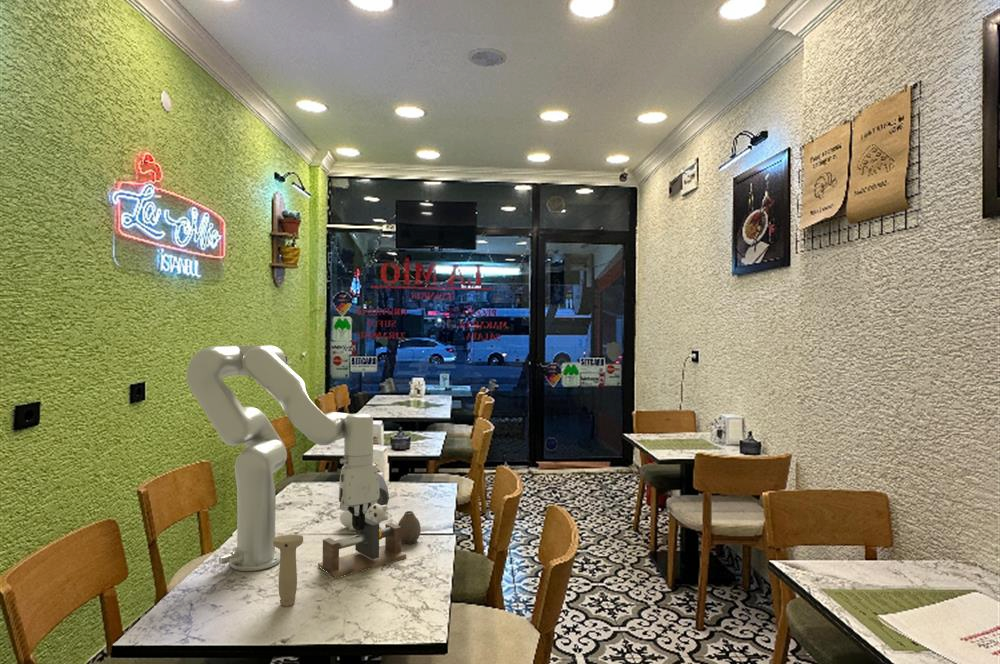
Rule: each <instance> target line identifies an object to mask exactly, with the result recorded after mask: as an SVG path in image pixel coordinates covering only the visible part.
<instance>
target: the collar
mask: <svg viewBox="0 0 1000 664" xmlns="http://www.w3.org/2000/svg"><path fill="white" fill-rule="evenodd" d="M379 529H380V523H376V522H374V521H372V520H370V519H368V518H365V525H364V529H363V530H359V531H358V530H355V535H359V534H363V533H367V542H365V543H361V544H358V545H354V546H355V547H354V549H355V551H356V552H360V553H362V554H363V555H365V556H367V557H369V558H371V559H376V558H379V546H380V540H379Z"/></svg>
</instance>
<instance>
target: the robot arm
mask: <svg viewBox="0 0 1000 664" xmlns="http://www.w3.org/2000/svg"><path fill="white" fill-rule="evenodd" d="M231 376H232V377H233V376H250V377H251V378H252V379H253V380H254V381H255V382H256V383H257V384H258V385H260V387H262V388H263V389H264V390H265V391H266V392H267V393H268V394H269V395H271V397H272V398H273V399H275V400H276V402H278V403H279V405H280V407H281V409H282V410H283V412H284V413H285V415H286V417H287V418H288V419H289V421H290V422H291V424H293V427H295V428H296V429H297V430H298V431H300V433H301V434H303V435H304V436H305V437H306V438H307V439H308V440H309V441H311V442H312V443H314V444H316V445H318V446H330V445H331V444H333V443H334V442H336V441H339V440H342V439H343V440H344V443H343V444H344V445H343V446H344V451H343V452H344V453H343V457H342V458H340V459H339V463H340V464H341V465H342V464H343V466H342V467H341V471H340V475H339V482H338V483H339V485H338V502H339V507H338V508H339V510H340V511H342V512H343V511H349V512H350V513H351V514H352V526H353V528H354V529H356V530H358V531H359V530H363V529H364V525H365V514H366V513H367V510H368V509H369V507H370V506H372V505H374V504H376V503H377V500H378V499H379V479H378V474H379V473H378V468H377V464H376V463H374V418H373V416H372V415H371V414H368V413H345V412H339V411H338V412H337V411H331V412H327V413H324V412H323V411H322V410H321V409H320V408H318V406H316V404H315V403H314V402H313V401H312V400H311V399H310V397H309V395H308V392H307V389H306V383H305V381H304V379H303V378H302V377H301V376H300V375H298V373H296V372H295V370H293V369H292V368H291V367H290V366H289V365H288V364H287V358H286V355H285V353H284V351H283V350H281V349H280V348H279V347H277V346H275V345H271V344H270V345H268V344H267V345H215V346H209V347H208V346H207V347H205V348H202V349H200V350H199V351H197V352H196V353H195V354H194V355H193V356H192V358H191V359H190V361H189V362H188V365H187V369H186V381H187V384H188V387H189V390H190V392H191V393H192V395H193V396H194V398H195V399H196V401H197V402H198V404H199V405H200V408H202V410H203V412H204V413H205V415H206V417H207V418H208V420H209V422H210V424H211V425H212V426H213V428H214V430H215V431H216V433H217V434H218V436H219V438H220V439H221V441H222V442H223V443H224V444H226V445H228V446H230V447H231V446H232V447H238V446H241V445H244V447H245V448H244V449H243V450H241V452H240V453H239V454H238V455H237V457H236V459H235V462H234V475H235V476H234V477H235V483H236V490H237V491H236V494H237V495H236V496H237V498H236V499H237V500H236V501H237V502H236V505H237V510H236V511H237V512H236V513H237V515H236V516H237V521H236V524H237V525H236V526H237V527H236V530H237V531H236V547H234V548H233V549H232V551H231V552H230V553H229V554H227V555H226V554H225V555H223V556H219V557H218V564H219V565H220V566H221V565H225V564H227V563H228V564H229V565H230V567H231V568H232V569H233V570H236V571H241V572H255V571H261V570H262V571H263V570H266V569H269V568H272V567H274V566H276V565H278V564H280V552H278V551H277V550H276V547H275V546H274V545H273V539H274V538H275V537H276V507H277V506H276V504H277V503H276V499H277V498H276V496H277V495H276V485H275V481H274V473H277V472H278V471H279V470H281V468H282V467H283V466H284V465H285V463H286V461H287V458H288V451H287V448H286V445H285V444H284V442H283V440H282V439H281V437H280V436H279V434H278V432H277V431H276V429H275V428H274V426H273V424H272V422H271V421H270V420H269V418H268V417H267V415H266V414H265V413H264V412H263V411H262V410H261V409H259V408H257V407H254V406H242V403H240V401H239V399H238V398H237V396H236V395H235V394H236V393H234V392H233V390H232V389H231V388H230V386H228V385H227V384H226V383H225V382H224V380H223V378H225V377H231ZM358 505H359V507H358ZM356 530H355V531H356Z"/></svg>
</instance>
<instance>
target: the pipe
mask: <svg viewBox="0 0 1000 664" xmlns="http://www.w3.org/2000/svg"><path fill="white" fill-rule="evenodd" d="M392 534H393V531H392V528H391V527H387V528H385V527H383V528H379V541H380V540H382V539H385V537H388V536H392ZM334 540H335V539H334ZM335 541H337V542H339V550H341V549H346V548H350V547H354V546H355V545H358V544H361V543H365V542H367V533H363V534H359V535H356V534H355V535H352V536H347V537H344V538H339V539H336V540H335Z"/></svg>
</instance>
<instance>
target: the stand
mask: <svg viewBox="0 0 1000 664" xmlns="http://www.w3.org/2000/svg"><path fill="white" fill-rule="evenodd" d="M387 527H391V528H392V531H393V534H392V536H388V537H384V539H385V540H384V544H383V545H379V558H376V559H371V558H369V557H367V556H365V555H363V554H362V553H360V552H358V551H356V552H354V553H350V554H347V555H346V554H345V555H343V556H340V549H339V542H337V541H335V539H333V538H331V537H327V538H323V539H322V561H320V562H318V563H317V567H318V566H319V567H321V568H322V569H324V570H325V571H327V572H328V573H330V574H331V575H330V574H329V575H330V576H332V575H333V576H334V577H333V576H332V577H333V578H335V577H336V578H337V579H339V578H338V577H340V578H342V577H341V576H343V577H345V576H344V575H347V576H349V575H348V574H350V575H352V574H351V573H353V574H356V573H355V572H357V573H359V572H358V571H360V572H362V570H364V571H366V570H365V569H367V570H369V569H368V568H370V569H373V568H372V567H374V568H377V567H380V566H383V565H387V564H390V563H395V562H397V561H400V560H404V559H407V554H406V553H405V552H402V542H401V527H400V526H398V524H395V523H393V522H389V523H385V527H384V528H387ZM376 566H377V567H376ZM319 567H318V568H319ZM321 568H320V569H321ZM322 569H321V570H322ZM324 570H323V571H324ZM325 571H324V572H325ZM327 572H326V573H327ZM328 573H327V574H328ZM336 578H335V579H336Z"/></svg>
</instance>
